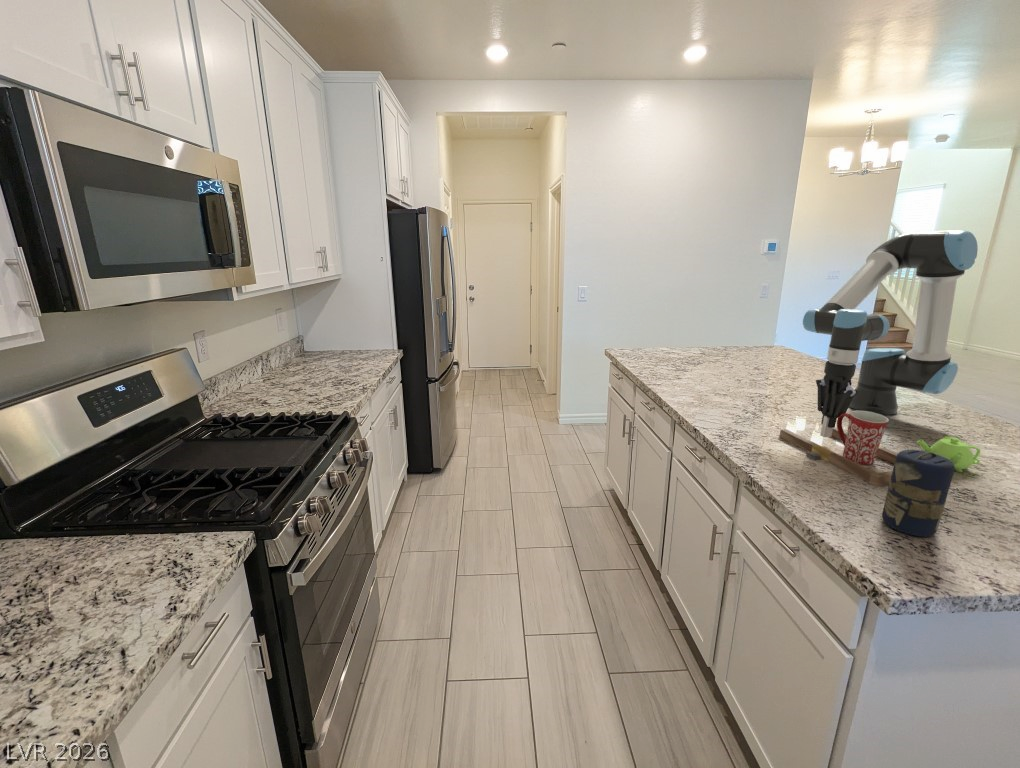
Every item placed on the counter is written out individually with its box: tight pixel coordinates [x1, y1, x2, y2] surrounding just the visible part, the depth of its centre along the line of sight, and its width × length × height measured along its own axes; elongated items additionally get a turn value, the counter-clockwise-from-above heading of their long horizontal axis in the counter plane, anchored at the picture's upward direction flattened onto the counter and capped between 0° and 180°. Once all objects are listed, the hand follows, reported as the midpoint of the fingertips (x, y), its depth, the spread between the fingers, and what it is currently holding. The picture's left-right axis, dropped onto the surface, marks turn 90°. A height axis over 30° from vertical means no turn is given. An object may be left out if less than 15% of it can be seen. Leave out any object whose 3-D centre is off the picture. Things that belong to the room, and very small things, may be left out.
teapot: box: [916, 435, 981, 473], centre depth 132 cm, size 11×12×8 cm
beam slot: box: [779, 426, 899, 487], centre depth 140 cm, size 25×34×2 cm
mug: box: [836, 410, 890, 466], centre depth 137 cm, size 13×9×14 cm
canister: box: [882, 449, 955, 537], centre depth 102 cm, size 10×10×18 cm
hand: (825, 435), depth 147 cm, fingers closed
